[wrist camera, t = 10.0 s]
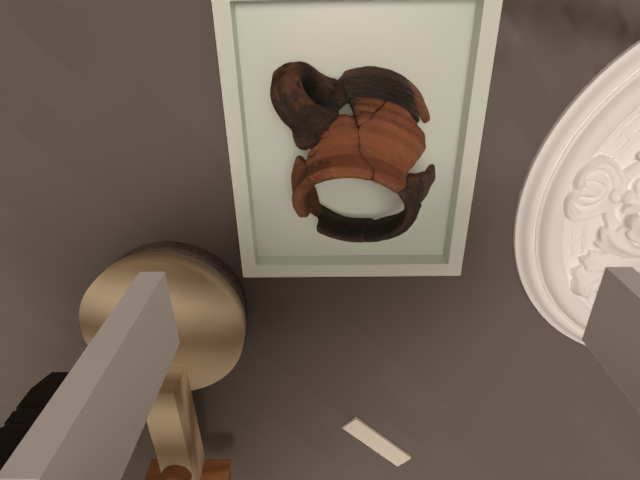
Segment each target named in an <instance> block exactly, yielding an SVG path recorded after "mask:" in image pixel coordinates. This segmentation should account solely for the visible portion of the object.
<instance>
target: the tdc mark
mask: <svg viewBox="0 0 640 480" xmlns="http://www.w3.org/2000/svg"><path fill="white" fill-rule="evenodd" d="M342 428H343V429H344V430H345V431H347V432H348V433H350V434H351V435H353V436H354V437H356V438H357V439H359V440H360V441H361V442H363V443H364V444H366V445H367V446H369V447H370V448H372V449H373V450H374V451H376V452H377V453H379V454H380V455H382V456H383V457H385V458H386V459H387V460H389V461H390V462H392V463H393V464H395V465H396V466H399V465H401V464H403V463H404V462H406V461H408V460H409V459H411V456H410V455H409V454H408V453H406V452H405V451H403V450H402V449H401V448H399V447H398V446H396V445H395V444H394V443H392V442H391V441H389V440H388V439H387V438H385V437H384V436H382V435H381V434H380V433H378V432H377V431H375V430H374V429H373V428H371V427H370V426H368V425H367V424H366V423H364V422H363V421H361V420H360V419H359V418H357V417H354V418H353V419H352V420H350V421H349V422H347V423H346V424H344V425H343V426H342Z"/></svg>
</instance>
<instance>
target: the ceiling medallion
mask: <svg viewBox="0 0 640 480" xmlns="http://www.w3.org/2000/svg"><path fill="white" fill-rule="evenodd" d="M513 249H514V258H515V263H516V268H517V272H518V275H519V278H520V281H521V283H522V286H523V288H524V290H525V292H526V294H527V296H528V297H529V299H530V301H531V302H532V304H533V305H534V306H535V308H536V309H537V310H538V312H539V313H540V314H541V315H542V316H543V317H544V318H545V319H546V320H547V321H548V322H549V323H550V324H551V325H552V326H553V327H555V328H556V329H557V330H558V331H560V332H561V333H563V334H564V335H566V336H567V337H569V338H571V339H573V340H575V341H577V342H579V343H581V344H583V345H585V343H584V342H583V341H582V338H583V335H584V332H585V328H586V325H587V322H588V319H589V316H590V313H591V310H592V307H593V304H594V301H595V298H596V295H597V292H598V289H599V286H600V283H601V280H602V277H603V274H604V270H605V267H633V268H634V269H635V270H636V271H638V272H639V273H640V40H639V41H637V42H636V43H635V44H633V45H632V46H630V47H629V48H628V49H626V50H625V51H624V52H622V53H621V54H620V55H619V56H617V57H616V58H615V59H614V60H613V61H611V62H610V63H609V64H608V65H607V66H606V67H605V68H603V69H602V70H601V71H600V72H599V73H598V74H597V75H596V76H595V77H594V78H593V79H592V80H591V81H590V82H589V83H588V84H587V85H586V86H585V87H584V88H583V89H582V90H581V91H580V92H579V93H578V94H577V96H576V97H575V98H574V99H573V100H572V101H571V103H570V104H569V105H568V106H567V107H566V109H565V110H564V111H563V112H562V114H561V115H560V116H559V118H558V119H557V121H556V122H555V123H554V125H553V126H552V128H551V129H550V131H549V132H548V134H547V135H546V137H545V139H544V140H543V142H542V144H541V145H540V147H539V149H538V151H537V153H536V155H535V157H534V159H533V161H532V163H531V165H530V167H529V169H528V172H527V174H526V177H525V179H524V182H523V185H522V188H521V191H520V195H519V198H518V202H517V207H516V212H515V218H514V228H513Z"/></svg>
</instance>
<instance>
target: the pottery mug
mask: <svg viewBox="0 0 640 480" xmlns="http://www.w3.org/2000/svg"><path fill="white" fill-rule="evenodd" d="M270 98H271V102H272V105H273V107H274V109H275V111H276V113H277V114H278V116H279V117H280V119H281V120H282V121H283V122H284V124H286V125H287V126H288V127H289V128H290V129H291V131H292V136H293V140H294V142H295V145H296V147H298V148H299V149H300V150H308V149H310V152H309V153H308V158H307V159H306V160H305V159H304V158H303V157H302V156H297V157H296V159H295V162H294V165H293V170H292V174H291V184H292V191H293V194H292V203H293V204H292V206H293V208H294V210H295V212H296V213H297V215H298V216H299V217H300V218H302V217H305V218H306V217H308V216H309V214H310V213H311V214H312V215H314V216H315V217H317V218H318V224H317V232H318V233H320V234H322V235H325V236H327V237H330V238H334V239H337V240H341V241H346V242H355V243H358V242H359V243H363V242H379V241H383V240H389V239H392V238H395V237H397V236H399V235H401V234H403V233H404V232H406V231H408V229H409V228H410V227H411V226H412V225H413V223H414V221H415V220H416V219H417V215H418V214H419V210H420V208H421V206H422V204H421V203H422V202H423V200H424V199H425V198H426V196H427V195H428V193H429V189H430V187H431V185H432V184H433V183H434V181H435V166H434V164H430V165H429V166H428V167H427V169H426V170H425V171H422V172H419V173H408V172H409V170H410V169H411V168H412V167H413V166H414V165H415V163H416V162H417V161H418V160H419V158H420V157H421V155H422V154H423V152H424V151H425V149H426V144H425V141H426V139H425V133H424V132H423V131H422V129H421V128H420V127H419V126H418V125H417V123H418V122H419V116H420V118H421V120H422V122H423V123H427V122H429V121H430V114H429V111H428V108H427V106H426V104H425V101H424V98H423V96H422V94H421V93H420V91H419V90H418V88H417V87H416V86H415V85H414V84H413V83H412V82H411V81H410V80H408V79H406V77H404V76H403V75H401V74H399V73H397V72H395V71H393V70H390V69H386V68H381V67H376V66H364V67H358V68H353V69H349V70H346V71H344V73H343V75H342V76H341V77H340V79H338V80H337V79H335V78H331V77H328V76H326V75H324V74H322V73H320V72H319V71H318V70H317V69H316V68H314V67H313V66H311V65H310V64H308V63H306V62H302V61H297V62H289V63H285V64H283V65H282V66H280V67H279V68H277V69H276V70H275V71H274V72H273V75H272V82H271V87H270ZM346 104H350V107H351V109H352V112H353V116H350V115H347V114H341V115H340V114H339V110H340V109H341V108H342V107H344V106H345V105H346ZM341 178H357V179H363V180H371V181H373V182H375V183H378V184H381V185H383V186H385V187H387V188H388V189H390V190H392V191H393V192H394V193H397V194H398V195H399V197H400V199H401V200H402V202H403V203H404V210H403V211H401V212H399V213H397V214H394V215H390V216H385V217H382V218H379V219H376V220H374V219H373V218H353V217H346V216H343V215H340V214H338V213H336V212H334V211H332V210H330V209H328V208H327V207H325V206H323V205H321V204H320V202H319V197H318V194H317V190H316V188H315V187H314V186H315V185H316V184H319V183H321V182H324V181H328V180H333V179H341Z"/></svg>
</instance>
